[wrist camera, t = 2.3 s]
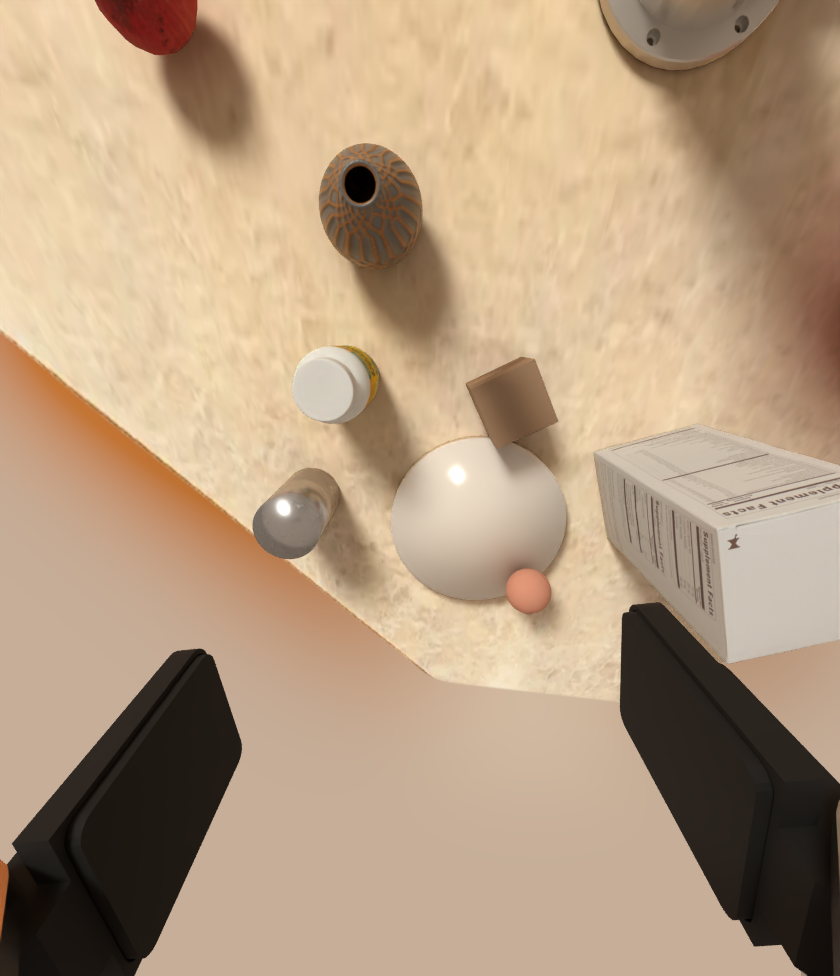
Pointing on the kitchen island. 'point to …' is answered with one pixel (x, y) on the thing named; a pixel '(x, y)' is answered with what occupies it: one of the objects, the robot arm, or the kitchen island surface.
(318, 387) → the supplement bottle
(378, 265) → the vase
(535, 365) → the walnut block
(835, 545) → the supplement box
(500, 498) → the white plate
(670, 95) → the kitchen island surface
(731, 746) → the robot arm
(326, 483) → the steel canister
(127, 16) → the onion
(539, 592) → the rubber ball
